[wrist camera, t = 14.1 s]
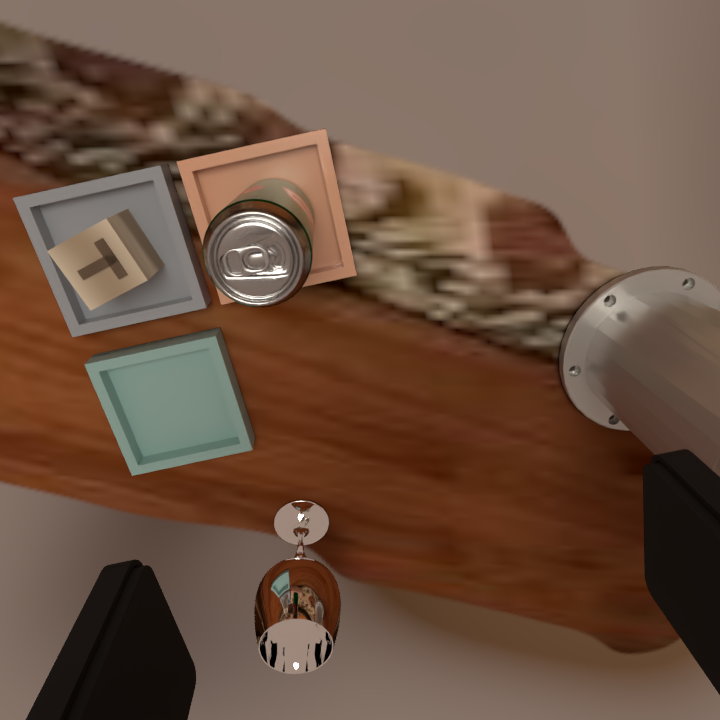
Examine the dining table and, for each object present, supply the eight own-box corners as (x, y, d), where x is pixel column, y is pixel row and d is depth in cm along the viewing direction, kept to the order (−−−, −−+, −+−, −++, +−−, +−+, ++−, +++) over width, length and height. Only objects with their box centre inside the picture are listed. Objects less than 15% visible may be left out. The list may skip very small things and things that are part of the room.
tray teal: (220, 327, 40) (215, 336, 38) (255, 437, 43) (252, 449, 42) (94, 354, 40) (84, 364, 38) (139, 462, 43) (132, 475, 42)
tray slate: (167, 163, 36) (160, 165, 34) (211, 300, 39) (206, 307, 37) (27, 194, 36) (12, 198, 34) (82, 328, 39) (72, 337, 38)
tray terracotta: (325, 128, 35) (325, 128, 34) (355, 268, 39) (356, 275, 37) (183, 159, 36) (176, 161, 34) (225, 297, 39) (221, 304, 37)
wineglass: (256, 541, 47) (237, 669, 36) (278, 484, 45) (265, 602, 34) (323, 558, 48) (324, 688, 37) (347, 503, 46) (356, 623, 35)
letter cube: (128, 208, 36) (105, 218, 32) (164, 264, 37) (147, 280, 34) (74, 238, 36) (46, 251, 33) (112, 292, 38) (89, 311, 34)
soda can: (322, 250, 38) (322, 302, 27) (246, 265, 38) (215, 323, 27) (305, 170, 36) (298, 191, 25) (225, 186, 36) (182, 214, 25)
